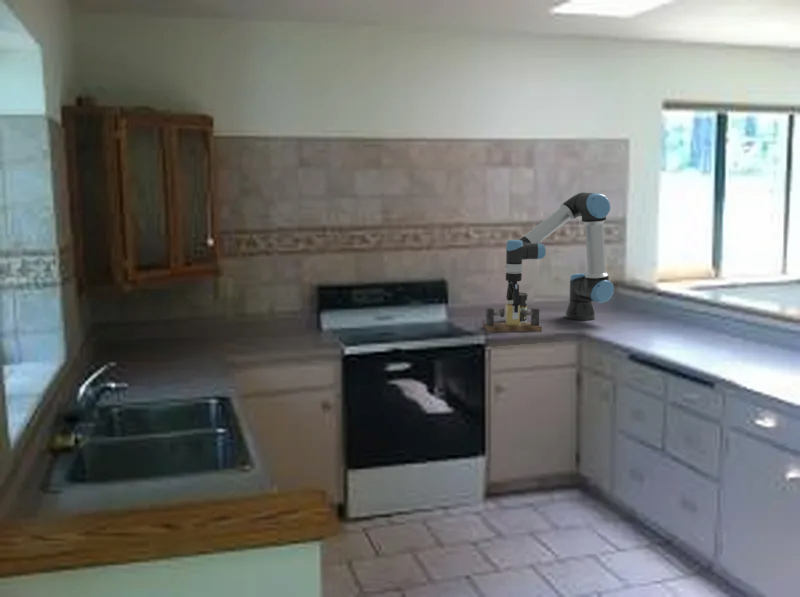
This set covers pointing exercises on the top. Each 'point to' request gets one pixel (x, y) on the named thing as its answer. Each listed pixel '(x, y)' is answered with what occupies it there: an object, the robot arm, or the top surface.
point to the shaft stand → (501, 327)
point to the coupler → (509, 314)
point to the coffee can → (523, 305)
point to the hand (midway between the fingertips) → (512, 316)
